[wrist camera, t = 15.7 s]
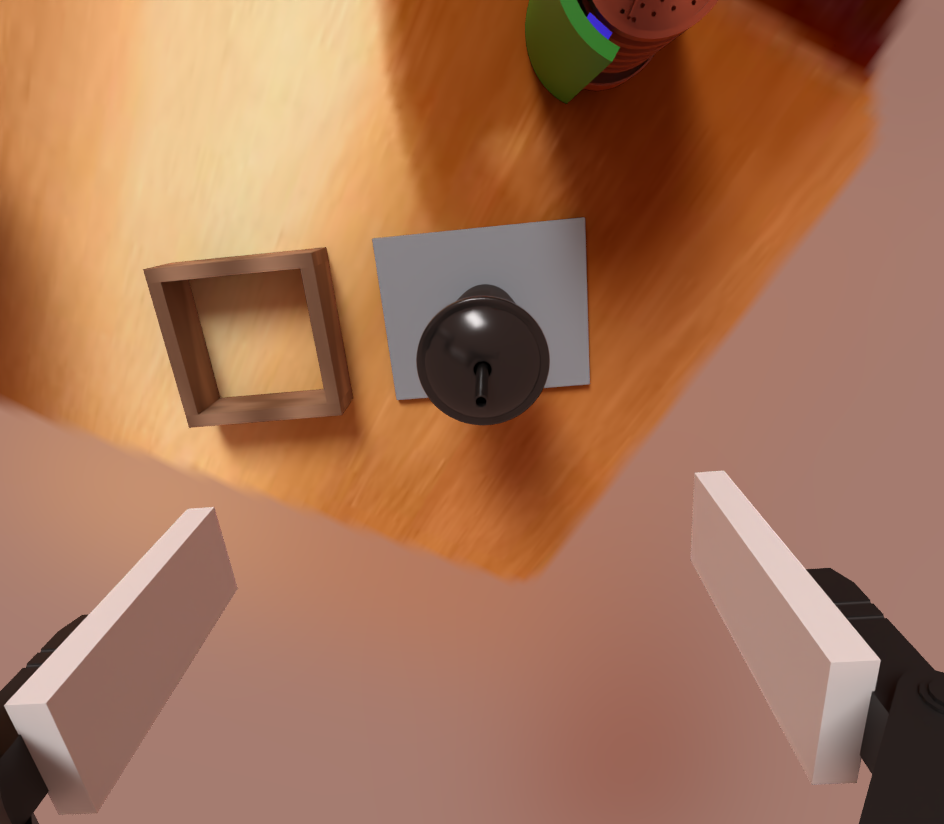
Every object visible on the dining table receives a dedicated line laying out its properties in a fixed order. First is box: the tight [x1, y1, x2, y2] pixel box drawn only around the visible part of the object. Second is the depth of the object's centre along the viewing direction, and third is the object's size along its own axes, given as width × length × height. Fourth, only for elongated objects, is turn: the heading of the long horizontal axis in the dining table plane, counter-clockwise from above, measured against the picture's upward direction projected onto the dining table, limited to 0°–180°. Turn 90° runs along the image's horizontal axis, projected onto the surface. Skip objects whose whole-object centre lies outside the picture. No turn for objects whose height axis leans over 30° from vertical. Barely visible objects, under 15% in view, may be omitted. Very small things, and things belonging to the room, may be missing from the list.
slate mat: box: [372, 217, 590, 400], centre depth 46 cm, size 16×13×1 cm
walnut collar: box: [143, 247, 353, 428], centre depth 46 cm, size 12×12×4 cm
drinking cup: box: [416, 284, 550, 425], centre depth 37 cm, size 8×8×20 cm
